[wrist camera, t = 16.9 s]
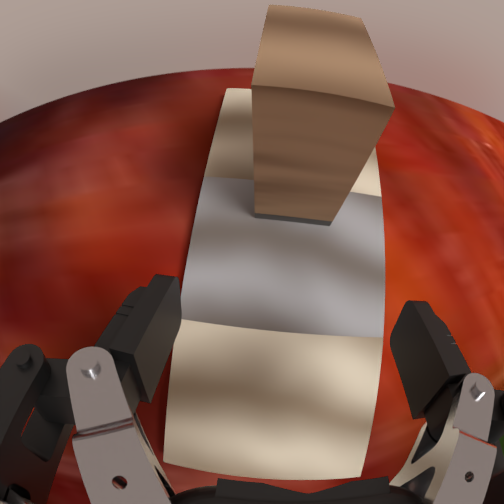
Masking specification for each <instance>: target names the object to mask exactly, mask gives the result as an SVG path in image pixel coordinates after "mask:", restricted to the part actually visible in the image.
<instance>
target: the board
mask: <svg viewBox="0 0 504 504" xmlns="http://www.w3.org/2000/svg"><path fill="white" fill-rule="evenodd" d="M181 309H182V320H181V326H180V329H179V332H178V334H177V337H176V339H175V342H174V346H173V354H172V362H171V371H170V380H169V390H168V401H167V412H166V425H165V440H164V458H163V462H166V463H170V464H174V465H178V466H183V467H187V468H192V469H197V470H202V471H207V472H213V473H219V474H226V475H233V476H242V477H251V478H263V479H281V480H323V479H341V478H352V477H360V476H361V472H362V468H363V464H364V460H365V456H366V452H367V447H368V443H369V438H370V433H371V428H372V423H373V417H374V411H375V405H376V399H377V392H378V385H379V377H380V368H381V359H382V348H383V330H384V310H385V245H384V225H383V210H382V199H381V189H380V179H379V171H378V164H377V156H376V150H375V147H374V149H373V151H372V153H371V155H370V157H369V159H368V160H367V162H366V164H365V166H364V168H363V169H362V171H361V173H360V175H359V177H358V178H357V180H356V182H355V184H354V185H353V187H352V189H351V191H350V193H349V194H348V196H347V198H346V199H345V201H344V203H343V205H342V206H341V208H340V210H339V212H338V213H337V215H336V217H335V218H334V220H333V222H332V223H331V225H330V226H323V225H314V224H306V223H297V222H288V221H279V220H269V219H259V218H255V203H254V164H253V127H252V91H251V89H237V88H227V90H226V93H225V97H224V100H223V104H222V107H221V111H220V115H219V118H218V122H217V126H216V130H215V134H214V137H213V141H212V145H211V149H210V153H209V158H208V162H207V166H206V170H205V174H204V179H203V183H202V188H201V192H200V197H199V201H198V206H197V211H196V216H195V220H194V225H193V230H192V236H191V241H190V246H189V251H188V257H187V262H186V268H185V274H184V280H183V286H182V292H181Z"/></svg>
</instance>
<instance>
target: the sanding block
mask: <svg viewBox="0 0 504 504" xmlns="http://www.w3.org/2000/svg"><path fill="white" fill-rule="evenodd" d="M251 91H252V127H253V164H254V203H255V218H259V219H269V220H279V221H288V222H297V223H306V224H314V225H323V226H330V225H331V223H332V222H333V220H334V218H335V217H336V215H337V213H338V212H339V210H340V208H341V206H342V205H343V203H344V201H345V199H346V198H347V196H348V194H349V193H350V191H351V189H352V187H353V185H354V184H355V182H356V180H357V178H358V177H359V175H360V173H361V171H362V169H363V168H364V166H365V164H366V162H367V160H368V159H369V157H370V155H371V153H372V151H373V149H374V147H375V146H376V144H377V142H378V140H379V138H380V136H381V134H382V132H383V130H384V128H385V127H386V125H387V123H388V121H389V119H390V117H391V115H392V113H393V111H394V109H395V106H394V103H393V99H392V96H391V93H390V90H389V87H388V84H387V81H386V78H385V75H384V72H383V70H382V67H381V64H380V61H379V59H378V56H377V54H376V51H375V49H374V46H373V44H372V42H371V39H370V37H369V35H368V33H367V30H366V28H365V26H364V24H363V21H362V19H361V18H357V17H354V16H349V15H344V14H339V13H334V12H329V11H322V10H316V9H309V8H301V7H292V6H281V5H269V7H268V11H267V15H266V20H265V24H264V28H263V33H262V37H261V42H260V46H259V51H258V55H257V61H256V65H255V70H254V74H253V79H252V84H251Z"/></svg>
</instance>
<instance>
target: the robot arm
mask: <svg viewBox="0 0 504 504" xmlns="http://www.w3.org/2000/svg"><path fill="white" fill-rule="evenodd" d="M181 320H182V309H181V297H180V285H179V279H178V277H174V276H167V275H159V274H156V275H155V276H154V277H153V279H152V280H151V282H150V283H149V285H148V286H147V287H141V286H140V287H139V288H137V289H136V290H134V291H133V292H131V293H130V294H129V295H128V296H127V298H126V299H125V300H124V302H123V303H122V307H121V306H120V308H119V309H118V311H117V312H116V315H114V317H113V318H112V320H111V321H110V323H109V324H108V326H107V327H106V329H105V330H104V332H103V333H102V335H101V336H100V338H99V339H98V341H97V342H96V344H95V345H94V347H86V348H82V349H80V350H78V351H77V352H75V353H74V354H73V355H72V356H71V357H70V359H51V358H45V356H44V354H43V352H42V350H41V349H40V348H39V347H38V346H36V345H33V344H25V345H22V346H19V347H17V348H16V349H14V350H13V351H12V352H11V353H10V355H9V356H8V358H7V359H6V361H5V362H4V364H3V365H2V367H1V368H0V504H46V502H47V499H48V495H49V492H50V489H51V486H52V483H53V480H54V477H55V474H56V471H57V468H58V465H59V462H60V460H61V457H62V454H63V451H64V449H65V446H66V443H67V441H68V438H69V436H70V433H71V431H72V428H73V426H74V425H76V428H77V434H74V435H73V437H72V443H73V448H74V452H75V456H76V459H77V463H78V466H79V470H80V473H81V476H82V479H83V482H84V485H85V488H86V491H87V494H88V496H89V499H90V502H91V504H504V456H503V452H502V448H501V445H500V441H499V439H500V438H501V437H502V436H503V435H504V391H501V390H495V389H494V388H493V386H492V384H491V383H490V381H489V380H488V379H487V378H486V377H484V376H483V375H481V374H478V373H471V371H470V369H469V367H468V365H467V363H466V361H465V359H464V357H463V355H462V353H461V351H460V349H459V348H458V346H457V345H456V344H455V343H456V342H455V340H454V338H453V337H452V336H451V333H450V331H449V330H448V328H447V326H446V324H445V323H444V322H443V321H442V320H441V319H440V318H439V317H437V316H436V315H435V313H434V312H433V310H432V308H431V307H430V305H429V304H428V302H426V301H410V300H409V301H407V302H406V303H405V305H404V307H403V309H402V311H401V313H400V316H399V318H398V320H397V322H396V324H395V326H394V328H393V331H392V333H391V337H390V347H391V351H392V353H393V356H394V359H395V362H396V365H397V368H398V371H399V374H400V377H401V380H402V383H403V387H404V390H405V393H406V396H407V400H408V403H409V407H410V410H411V414H412V417H413V419H419V418H426V421H427V422H426V423H425V424H424V425H423V426H422V428H421V430H420V433H419V435H418V437H417V440H416V442H415V444H414V446H413V448H412V450H411V452H410V455H409V457H408V459H407V461H406V463H405V465H404V466H403V468H402V469H401V471H400V472H399V473H398V474H397V475H396V476H395V477H394V478H393V480H392V481H391V482H390V483H389V479H388V476H387V477H381V478H374V479H367V480H360V481H351V482H348V483H345V484H342V485H339V486H336V487H333V488H329V489H326V490H322V491H319V492H315V493H310V494H306V493H301V492H296V491H292V490H287V489H283V488H279V487H275V486H272V485H268V484H264V483H255V482H244V481H235V480H227V479H220V478H218V481H217V485H216V486H205V487H198V488H194V489H190V490H186V491H184V492H181V493H178V494H176V493H175V491H174V489H173V487H172V486H171V484H170V482H169V480H168V478H167V477H166V475H165V473H164V471H163V469H162V468H161V466H160V464H159V462H158V460H157V458H156V456H155V454H154V452H153V450H152V448H151V446H150V444H149V441H148V439H147V437H146V435H145V432H144V430H143V428H142V425H141V423H140V420H139V418H138V415H137V413H136V411H135V410H136V408H137V405H138V403H139V400H140V401H143V402H147V403H151V401H152V398H153V395H154V393H155V390H156V387H157V385H158V382H159V380H160V377H161V374H162V372H163V369H164V367H165V364H166V362H167V359H168V357H169V354H170V352H171V349H172V347H173V344H174V342H175V339H176V337H177V334H178V332H179V329H180V326H181ZM33 407H34V408H35V409H34V411H33V413H32V415H31V417H30V419H29V422H28V424H27V426H26V428H25V430H24V432H23V435H22V437H21V433H22V430H23V428H24V426H25V423H26V421H27V419H28V417H29V415H30V413H31V411H32V409H33Z"/></svg>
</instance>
